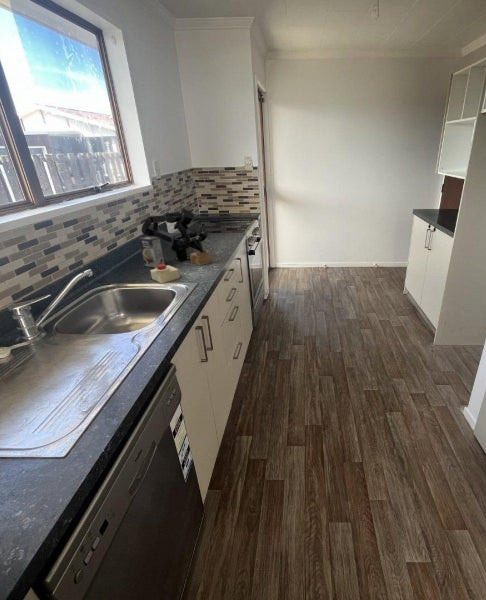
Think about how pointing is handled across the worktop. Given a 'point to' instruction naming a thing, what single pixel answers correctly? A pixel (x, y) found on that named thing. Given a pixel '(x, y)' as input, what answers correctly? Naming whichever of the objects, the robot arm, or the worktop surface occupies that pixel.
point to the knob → (161, 266)
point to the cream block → (165, 274)
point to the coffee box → (151, 251)
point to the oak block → (200, 258)
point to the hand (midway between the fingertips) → (202, 251)
